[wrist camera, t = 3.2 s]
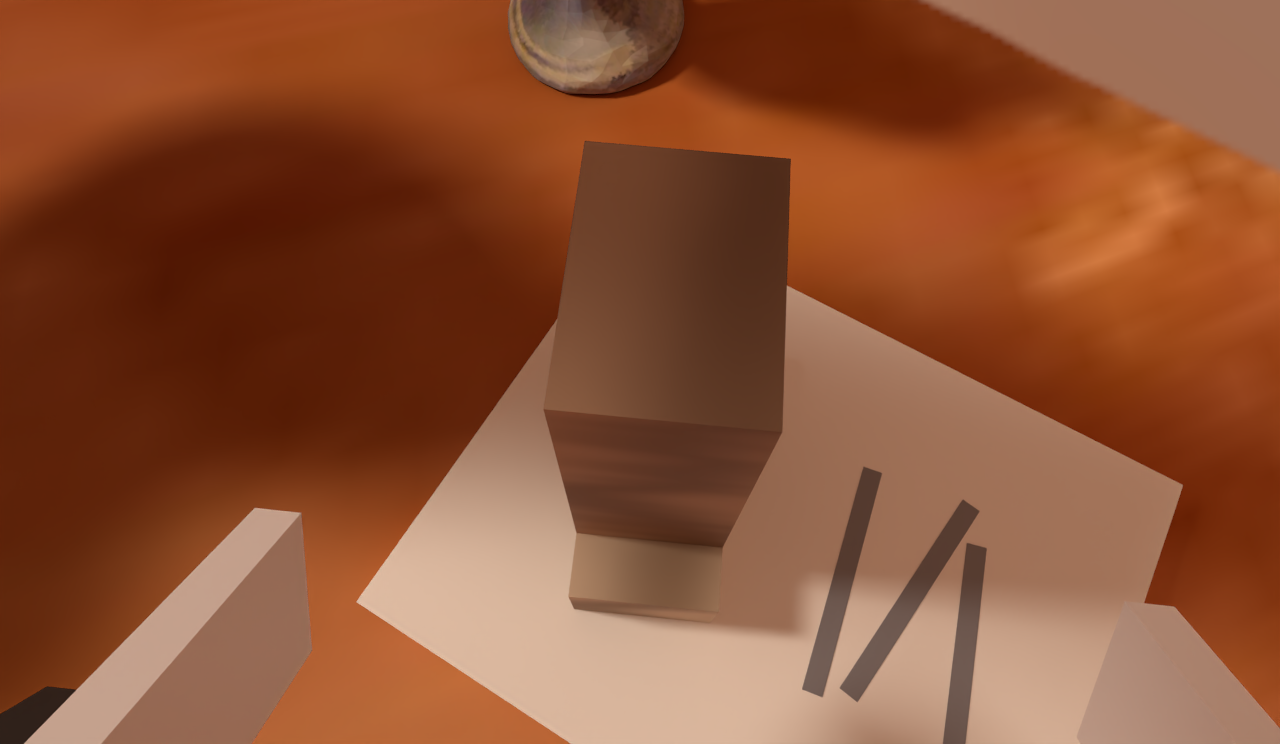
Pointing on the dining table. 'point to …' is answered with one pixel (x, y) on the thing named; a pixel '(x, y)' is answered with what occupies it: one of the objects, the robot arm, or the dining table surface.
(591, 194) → the block
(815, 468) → the marked board
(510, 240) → the dining table surface
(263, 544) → the robot arm
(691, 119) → the dining table surface
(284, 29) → the dining table surface
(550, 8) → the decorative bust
